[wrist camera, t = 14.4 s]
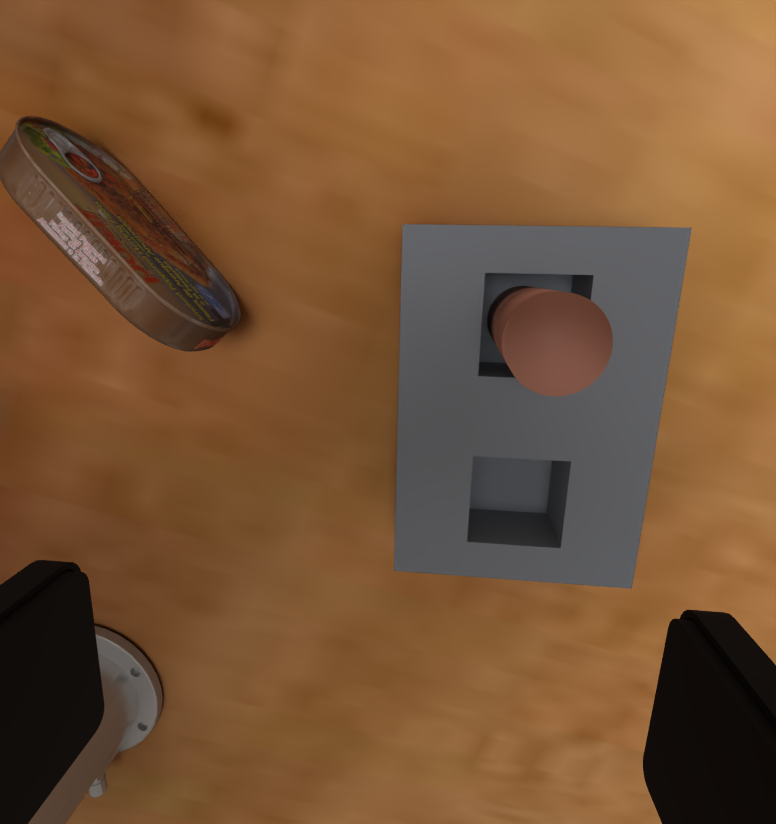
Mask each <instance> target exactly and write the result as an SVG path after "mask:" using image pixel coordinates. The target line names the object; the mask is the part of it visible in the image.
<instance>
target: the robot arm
mask: <svg viewBox="0 0 776 824" xmlns="http://www.w3.org/2000/svg"><path fill="white" fill-rule="evenodd" d="M162 701H163V698H162V690H161V685H160V682H159V679H158V676H157V674H156V673H155V671H154V669H153V667H152V665H151V664H150V662H149V661H148V660H147V659H146V657H145V656H144V655H143V654H142V653H141V652H140V651H139V650H138V649H137V648H136V647H135V646H134V645H133V644H132V643H130V642H129V641H127V640H126V639H124V638H123V637H121V636H120V635H118V634H116V633H114V632H111V631H109V630H107V629H105V628H101V627H98V626H95V625H94V618H93V610H92V602H91V594H90V587H89V580H88V577H87V575H86V574H85V573H83V572H81V570H80V568H79V567H78V565H77V564H75V563H73V562H61V561H48V560H38V561H35V562H33V563H31V564H29V565H28V566H27V567H25V568H24V569H22V570H21V571H20V572H18V573H17V574H15V575H14V576H13V577H11V578H10V579H8V580H7V581H6V582H4V583H3V584H1V585H0V824H66V822H67V821H68V819H69V818H70V816H71V815H72V814H73V812H74V811H75V809H76V808H77V806H78V805H79V803H80V802H81V800H82V799H83V798H84V796H85V794H86V793H87V791H88V790H89V794H90V796H91V797H93V798H94V797H99V796H101V795H103V794H104V792H105V791H106V790H107V787H108V786H107V779H106V774H105V771H106V769H107V768H108V766H109V765H110V763H111V762H112V760H113V759H114V757H115V756H116V754H117V753H118V752H120V751H124V750H127V749H129V748H132V747H134V746H136V745H137V744H139V743H140V742H142V741H143V740H144V739H145V738H146V737H147V735H148V734H149V733H150V732H151V730H152V729H153V727H154V726H155V724H156V722H157V721H158V718H159V716H160V713H161V710H162ZM643 771H644V777H645V782H646V785H647V788H648V791H649V793H650V795H651V798H652V800H653V803H654V805H655V807H656V810H657V812H658V815H659V817H660V819H661V822H662V824H776V665H775V664H774V663H773V662H772V660H771V659H770V658H769V657H768V656H767V655H766V654H765V652H764V651H763V650H762V649H761V648H760V647H759V646H758V645H757V643H756V642H755V641H754V640H753V639H752V638H751V637H750V635H749V634H748V633H747V632H746V631H745V630H744V629H743V627H742V626H741V625H740V624H739V623H738V622H737V621H736V619H735V618H734V617H732V616H731V615H730V614H728V613H724V612H711V611H698V610H686V611H684V612H683V614H682V615H681V617H680V619H673V620H672V621H671V622H670V624H669V627H668V632H667V637H666V642H665V648H664V653H663V658H662V663H661V668H660V674H659V679H658V684H657V689H656V694H655V699H654V705H653V710H652V715H651V720H650V725H649V731H648V736H647V741H646V746H645V751H644V757H643Z"/></svg>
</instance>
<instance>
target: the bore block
mask: <svg viewBox="0 0 776 824" xmlns="http://www.w3.org/2000/svg"><path fill="white" fill-rule="evenodd" d="M691 229H692V228H665V227H583V226H501V225H419V224H403V229H402V269H401V309H400V349H399V390H398V430H397V470H396V510H395V550H394V571H405V572H419V573H432V574H445V575H458V576H472V577H485V578H498V579H512V580H525V581H538V582H551V583H565V584H578V585H591V586H604V587H618V588H631V589H632V584H633V578H634V572H635V566H636V560H637V554H638V548H639V542H640V536H641V530H642V524H643V518H644V511H645V505H646V499H647V493H648V487H649V481H650V475H651V469H652V463H653V457H654V451H655V445H656V439H657V433H658V427H659V421H660V415H661V409H662V403H663V397H664V391H665V385H666V379H667V373H668V367H669V361H670V355H671V349H672V343H673V337H674V331H675V325H676V319H677V313H678V307H679V301H680V295H681V289H682V283H683V277H684V271H685V265H686V259H687V253H688V247H689V241H690V235H691ZM516 286H530V287H537V288H543V289H549V290H556V291H562V292H569V293H574V294H578V295H581V296H583V297H586V298H587V299H589V300H591V301H592V302H594V303H595V304H596V305H597V306H598V307H599V308H600V309H601V310H602V311H603V312H604V314H605V315H606V317H607V319H608V321H609V323H610V326H611V329H612V334H613V348H612V353H611V357H610V359H609V362H608V364H607V366H606V368H605V369H604V371H603V372H602V374H601V375H600V376H599V377H598V378H597V380H595V381H594V382H593V383H592V384H591V385H589V386H588V387H586V388H585V389H583V390H581V391H579V392H576V393H574V394H570V395H566V396H545V395H541V394H538V393H535V392H533V391H531V390H529V389H528V388H526V387H525V386H523V385H522V384H521V383H520V382H519V381H518V380H517V379H516V378H515V376H514V375H513V373H512V372H511V370H510V368H509V367H508V365H507V363H506V361H505V360H504V358H503V356H502V355H501V353H500V351H499V349H498V348H497V346H496V344H495V343H494V341H493V339H492V337H491V336H490V333H489V331H488V327H487V316H488V311H489V309H490V306H491V304H492V303H493V301H494V300H495V299H496V297H497V296H498V295H499V294H501V293H502V292H504V291H505V290H507V289H509V288H512V287H516Z"/></svg>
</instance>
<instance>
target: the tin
mask: <svg viewBox="0 0 776 824" xmlns="http://www.w3.org/2000/svg"><path fill="white" fill-rule="evenodd" d="M0 179H1V181H2V183H3V185H4V187H5V188H6V190H7V191H8V193H9V195H10V196H11V197H12V199H13V200H14V201H15V202H16V203H17V204H18V205H19V207H20V208H21V209H22V210H23V211H24V212H25V213H26V214H27V215H28V216H29V218H30V219H31V220H32V221H33V222H34V223H35V224H36V225H37V226H38V227H39V228H40V229H41V230H42V231H43V233H44V234H45V235H46V236H47V237H48V238H49V239H50V240H51V241H52V242H53V243H54V244H55V245H56V246H57V247H58V249H59V250H60V251H61V252H62V253H63V254H64V255H65V256H66V257H67V258H68V259H69V260H70V261H71V262H72V263H73V265H74V266H75V267H76V268H77V269H78V270H79V271H80V272H81V273H82V274H83V275H84V276H85V277H86V278H87V279H88V280H89V281H90V282H91V283H92V284H93V285H94V286H95V288H96V289H97V290H98V291H99V292H100V293H101V294H102V295H103V296H104V297H105V298H106V299H107V300H108V301H109V302H110V304H111V305H112V306H113V307H114V308H115V309H116V310H117V311H118V312H119V313H120V314H121V315H122V316H123V317H124V318H126V319H127V320H128V321H129V322H130V323H131V324H133V325H134V326H135V327H137V328H138V329H139V330H141V331H142V332H144V333H145V334H147V335H148V336H150V337H151V338H153V339H155V340H157V341H159V342H161V343H163V344H165V345H167V346H170V347H172V348H175V349H179V350H182V351H189V352H191V351H201V350H206V349H209V348H211V347H213V346H214V345H215V344H216V343H217V342H219V341H220V340H221V339H222V338H223V337H224V336H225V335H226V334H227V333H228V332H229V331H230V330H232V329H234V328H235V327H237V326H238V324H239V322H240V319H241V311H240V306H239V303H238V300H237V298H236V296H235V294H234V292H233V290H232V289H231V287H230V286H229V284H228V283H227V281H226V280H225V279H224V277H223V276H222V275H221V273H220V272H219V271H218V270H217V269H216V268H215V266H214V265H213V264H212V263H211V262H210V261H209V260H208V259H207V257H206V256H205V255H204V254H203V253H202V252H201V251H200V250H199V249H198V247H197V246H196V245H195V244H194V243H193V242H192V241H191V240H190V238H189V237H188V236H187V235H186V234H185V233H184V232H183V231H182V229H181V228H180V227H179V226H178V225H177V224H176V223H175V222H174V221H173V219H172V218H171V217H170V216H169V215H168V214H167V212H166V211H165V210H164V209H163V208H162V207H161V206H160V205H159V203H158V202H157V201H156V200H155V199H154V198H153V197H152V196H151V194H150V193H149V192H148V191H147V190H146V189H145V188H144V187H143V185H142V184H141V183H140V182H139V181H138V180H137V179H136V178H135V177H134V176H133V175H132V174H131V173H130V172H129V171H128V170H127V169H126V168H125V167H123V166H122V165H121V164H120V163H119V162H118V161H117V160H115V159H114V158H113V157H112V156H110V155H109V154H108V153H107V152H105V151H104V150H103V149H101V148H100V147H99V146H97V145H95V144H94V143H92V142H91V141H90V140H88V139H86V138H85V137H83V136H81V135H80V134H78V133H76V132H74V131H73V130H71V129H69V128H66V127H64V126H62V125H60V124H58V123H56V122H53V121H51V120H48V119H44V118H41V117H33V116H27V117H22V118H20V119H19V120H18V122H17V123H16V126H15V130H14V132H13V133H12V135H11V136H10V138H9V139H8V141H7V142H6V144H5V145H4V147H3V149H2V150H1V152H0Z"/></svg>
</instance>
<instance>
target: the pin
mask: <svg viewBox="0 0 776 824" xmlns="http://www.w3.org/2000/svg"><path fill="white" fill-rule="evenodd" d="M487 327H488V331H489V333H490V336H491V337H492V339H493V341H494V343H495V344H496V346H497V348H498V349H499V351H500V353H501V355H502V356H503V358H504V360H505V361H506V363H507V365H508V367H509V368H510V370H511V372H512V373H513V375H514V376H515V378H516V379H517V380H518V381H519V382H520V383H521V384H522V385H523V386H525V387H526V388H528V389H529V390H531V391H533V392H535V393H538V394H541V395H545V396H566V395H570V394H574V393H576V392H579V391H581V390H583V389H585V388H586V387H588V386H589V385H591V384H592V383H593V382H594V381H595V380H597V378H598V377H599V376H600V375H601V374H602V372H603V371H604V369H605V368H606V366H607V364H608V362H609V359H610V357H611V353H612V348H613V334H612V329H611V326H610V323H609V321H608V319H607V317H606V315H605V314H604V312H603V311H602V310H601V309H600V308H599V307H598V306H597V305H596V304H595V303H594V302H592V301H591V300H589V299H587V298H586V297H583V296H581V295H578V294H574V293H569V292H562V291H556V290H549V289H543V288H537V287H530V286H516V287H512V288H509V289H507V290H505V291H504V292H502V293H501V294H499V295H498V296H497V297H496V299H495V300H494V301H493V303H492V304H491V306H490V309H489V311H488V316H487Z"/></svg>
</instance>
